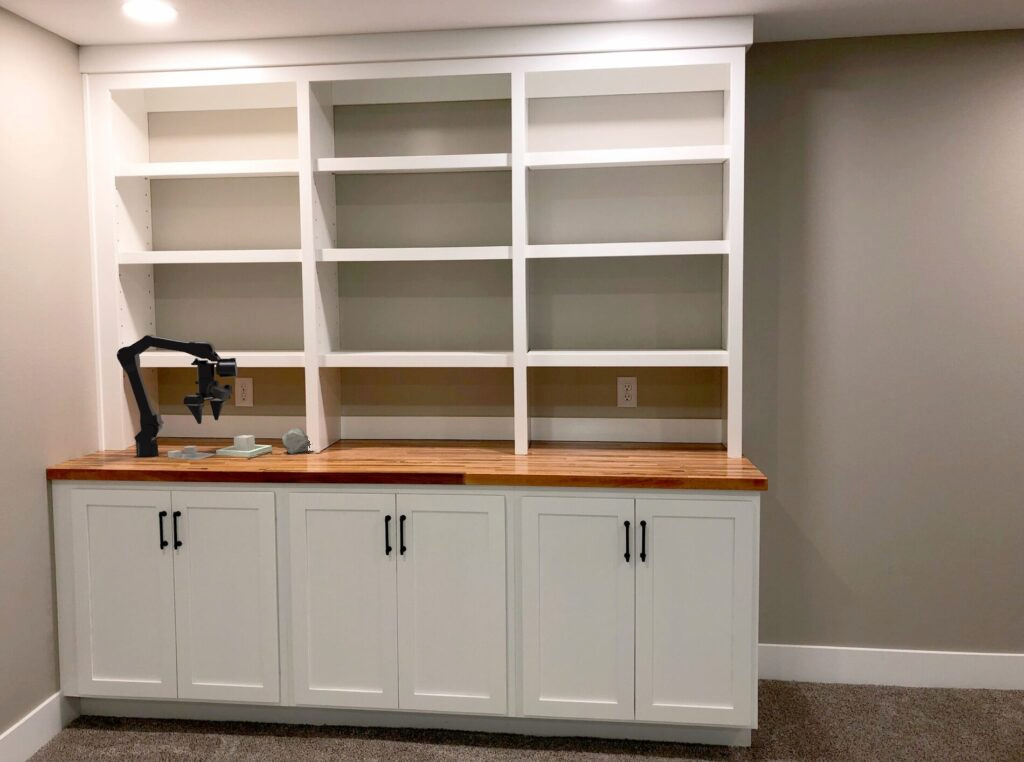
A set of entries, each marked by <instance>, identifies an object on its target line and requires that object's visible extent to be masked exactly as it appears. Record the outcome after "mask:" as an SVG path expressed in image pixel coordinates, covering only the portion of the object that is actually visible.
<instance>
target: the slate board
mask: <svg viewBox="0 0 1024 762" xmlns="http://www.w3.org/2000/svg"><path fill="white" fill-rule="evenodd" d="M215 455H216V453H210V452H208V453H207V452H198V446H197V445H186V446H184V447H183V451H182V450H179V449H176V450H169V451H167V458H168V459H178V460H179V459H182V460H196V461H198V460H202V459H205V458H208V457H212V456H215Z"/></svg>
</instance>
